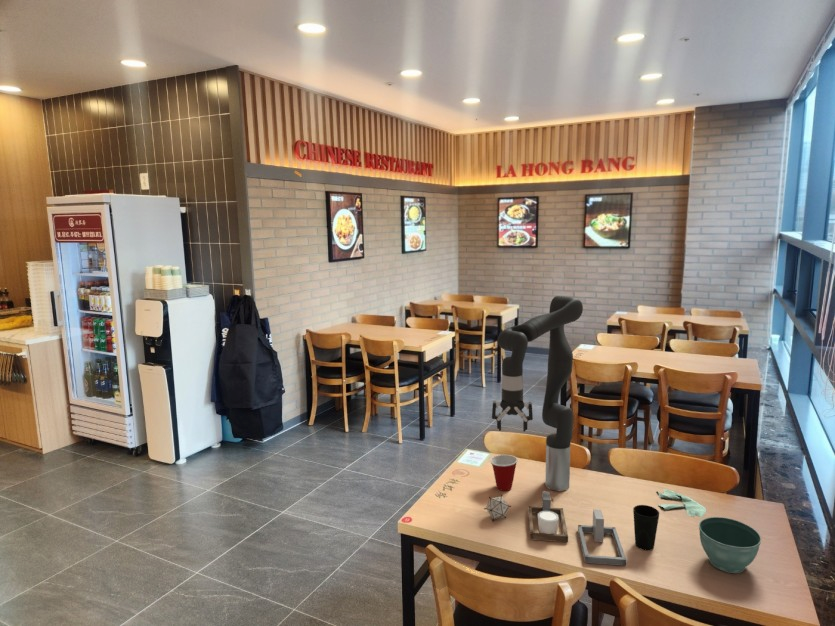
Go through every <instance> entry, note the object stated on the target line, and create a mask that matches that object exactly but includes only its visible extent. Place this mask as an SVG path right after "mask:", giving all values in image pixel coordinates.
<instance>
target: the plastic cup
mask: <svg viewBox="0 0 835 626" xmlns="http://www.w3.org/2000/svg"><path fill="white" fill-rule="evenodd" d="M489 462H490V464H491V467H492V469H493V475H494V480H495V485H496V489H498V490H499V491H501V492H508V491H511V490H512V487H513V482H514V478H515V472H516V467H517V463H518V457H516V456H515V455H510V454H497V455H494V456H492V457H490V460H489Z"/></svg>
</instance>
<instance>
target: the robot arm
mask: <svg viewBox="0 0 835 626" xmlns="http://www.w3.org/2000/svg"><path fill="white" fill-rule="evenodd" d="M583 311H584V306H583V302H582V301H581V300H580V299H579V298H577V297H573V296H562V295H556V296H554V297H553V298H552V299H551V301H550V304H549V313H545V314H544V313H543V314H540V315H538V316H534V317H532V318H530V319H528V320H526V321H525V322H523V323H521V324H517V325H515V326H511V327H508V328H506V329H504V330H502V331H501V332H500V333H499V334H498V337H497V344H498V346H499V348H501V349H503V350H505V351H510V352H511V354H510V355H511V356H506V357H503V359H502V367H501V369H502V370H501V371H502V375H501V385H500V387H501V401H500V402H499V401H497V400H494V401H492V409H491V419H493V420H496V424H497V425H496V429H497V430H498V431H502V418H504V417H505V416H506V415H508V416H510V415H511V416H512V415H513V416H517V415H518V416H519V417H520V418H521V419H522V420H523V422H522V423H523V424H522V425H523V426H522V427H523V429H522V431H523V432H524V433H525V432H526V431H528V422H529V421H532V420H533V419H534V418H533V417H534V415H533V403H532V402H531V401H529V402H524V377H523V372H524V371H523V370H524V369H523V367H524V366H523V364H524V360H525V356H526V352H527V350H528V346H529V342H533V341H535V340H536V339H539V337H541V336H542V335H544V334H546V333H548V332H549V347H548V356H547V358H548V359H547V377H546V386H545V393H544V399H543V404H542V413H541V417H542V421H543V423H544V424H545V425H547V427H548V426H549V427H552V428H555V429H556V432H555V433H550V434H549V435H547V436H546V438H545V439H546V440H545V443H546V444H545V482H544V484H545V487H546V488H547V489H549V490H552V491H556V492H557V491H558V492H559V491H560V492H562V491H566V490H568V489H570V483H571V482H570V479H571V478H570V476H571V475H570V474H571V473H570V470H571V442H572V438H573V433H574V432H573V431H574V429H573V428H574V411H573V409H572V408H571V407H569V406H566V405H562V404H559V396H560V391H561V390H562V388H563V386H564V385H565V384H566V382H567V381H568V379H569V378H570V377H571V375H572V371H573V363H574V361H573V360H574V354H573V351H572V348H571V346H570V343H569V340H567V339H568V338H567V337H566V334H565V333H566V332H565V325H567V324H570V323H573V322H575V321H577V320H579V319H580V318H581V316H582V314H583ZM499 407H500V408H501V411H500V412H499V413H498V414H496V413H497V409H499ZM524 407H525V408H526V410H528V415H526V414H525V413H524V411H523V409H524Z"/></svg>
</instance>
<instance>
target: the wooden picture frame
mask: <svg viewBox="0 0 835 626" xmlns="http://www.w3.org/2000/svg"><path fill="white" fill-rule="evenodd" d="M541 493H542V495H541V496H542V497H541V506H534V505H533V506H530V505H529V506H528V511H527V512H528V523H529V524H528V525H529V538H530V541H545V542H546V541H547V542H559V543H569V534H568V528H567V524H566V523H567V522H566V520H565V519H566V518H565V513H564V508H563V507H561V508H560V507H551V501H552V500H551V493H550V491H542V492H541ZM541 511H551V512H554V513H556V514H557V515H558V516H559V517H560V522H561V527H562V533H563V534H561V533H557V534H546V533H539V532H534V522H533V514H538V513H539V512H541Z"/></svg>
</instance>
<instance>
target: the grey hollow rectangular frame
mask: <svg viewBox="0 0 835 626" xmlns="http://www.w3.org/2000/svg"><path fill="white" fill-rule="evenodd" d="M577 533H578V538H579V541H580V545H581V551H582V554H583V560H584V563H586V564H597V565H599V564H600V565H612V566H623V567H626V566H627V557H626V555H625V551H624V548H623V545H622V543H621V540H620V537H619V534H618V531H617V528H616V527H615V526H605V518H604V515H603V512H602V509H597V508H594V509H592V525H587V524H585V525H584V524H577ZM584 533H586V534H587V533H589V534H593V539H594V542H595V543H596V542H597V543H600V542H601V543H604V535H605V534H606V535H612V537H613V539H614V543H615V546H616V549H617V553H618V555H619V557H618V556H605V555H593V554H589V553H588V548H587V544H586V543H587V542H586V540H585V537H584Z"/></svg>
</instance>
